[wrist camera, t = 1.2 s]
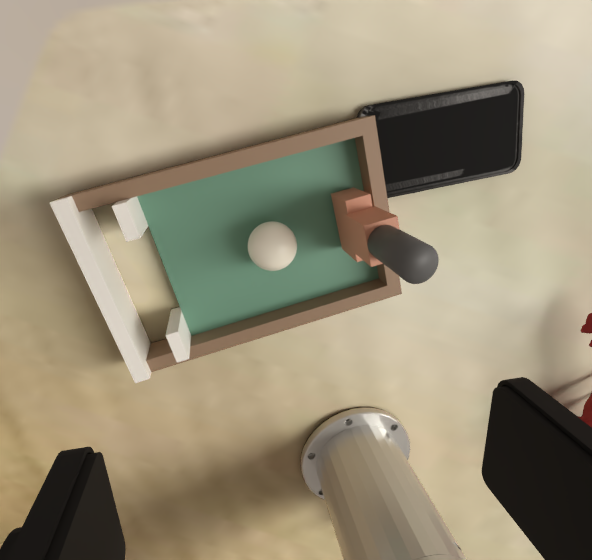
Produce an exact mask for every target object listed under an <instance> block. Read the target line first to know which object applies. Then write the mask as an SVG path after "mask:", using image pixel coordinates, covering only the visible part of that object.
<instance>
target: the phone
mask: <svg viewBox="0 0 592 560" xmlns="http://www.w3.org/2000/svg"><path fill="white" fill-rule="evenodd" d="M523 107H524V88H523V86H522V84H521V83H520V82H518V81H507V82H502V83H496V84H490V85H484V86H478V87H473V88H467V89H461V90H455V91H449V92H443V93H438V94H432V95H426V96H420V97H414V98H409V99H403V100H397V101H391V102H385V103H379V104H374V105H368V106H365V107H364V108H362V109H361V110H360V112H359V113H358V116H357V118H361V117H364V116H374V115H375V120H376V126H377V133H378V140H379V146H380V153H381V159H382V166H383V173H384V179H385V186H386V193H387V198H390V197H395V196H400V195H405V194H410V193H416V192H420V191H424V190H429V189H434V188H439V187H444V186H449V185H454V184H459V183H463V182H468V181H473V180H478V179H483V178H488V177H493V176H498V175H503V174H508V173H511V172H513V171H514V170H516V169H517V167H518V166H519V164H520V161H521V149H522V128H523Z"/></svg>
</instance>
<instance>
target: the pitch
mask: <svg viewBox="0 0 592 560" xmlns="http://www.w3.org/2000/svg"><path fill="white" fill-rule="evenodd" d="M349 188H356V189H359V190H361V191H364V192H366V193H369V194H371V200H372V206H373V207H374V206H376V207H378V208H380V209H382V210H385V211H387V212H389V206H388V199H387V193H386V186H385V179H384V173H383V166H382V159H381V153H380V146H379V140H378V133H377V126H376V120H375V115H374V116H364V117H361V118H355V119H351V120H347V121H344V122H340V123H336V124H332V125H328V126H325V127H321V128H317V129H313V130H310V131H306V132H302V133H298V134H294V135H291V136H287V137H283V138H279V139H276V140H272V141H268V142H264V143H260V144H257V145H253V146H249V147H245V148H241V149H238V150H234V151H230V152H226V153H223V154H219V155H215V156H211V157H207V158H204V159H200V160H196V161H192V162H189V163H185V164H181V165H177V166H173V167H170V168H166V169H162V170H158V171H155V172H151V173H147V174H143V175H139V176H136V177H132V178H128V179H124V180H120V181H117V182H113V183H109V184H105V185H102V186H98V187H94V188H90V189H86V190H83V191H79V192H75V193H71V194H68V195H66V196H63V197H61V198H59V199H56V200H54V201H52V202H50V205H51V207H52V209H53V211H54V213H55V216H56V218H57V220H58V222H59V224H60V226H61V228H62V230H63V232H64V234H65V237H66V239H67V241H68V243H69V245H70V247H71V249H72V251H73V253H74V255H75V258H76V260H77V262H78V264H79V266H80V268H81V270H82V272H83V274H84V276H85V279H86V281H87V283H88V285H89V287H90V289H91V291H92V293H93V295H94V297H95V300H96V302H97V304H98V306H99V308H100V310H101V312H102V314H103V316H104V318H105V321H106V323H107V325H108V327H109V329H110V331H111V333H112V335H113V337H114V340H115V342H116V344H117V346H118V348H119V350H120V352H121V354H122V356H123V358H124V361H125V363H126V365H127V367H128V369H129V371H130V373H131V375H132V377H133V379H134V382H135V383H138V382H141V381H144V380H147V379H150V375H151V372H153V371H156V370H160V369H163V368H166V367H169V366H172V365H176V364H179V363H182V362H185V361H188V360H192V359H195V358H198V357H201V356H204V355H208V354H211V353H214V352H217V351H220V350H224V349H227V348H230V347H233V346H236V345H239V344H243V343H246V342H249V341H252V340H255V339H259V338H262V337H265V336H268V335H271V334H275V333H278V332H281V331H284V330H287V329H291V328H294V327H297V326H300V325H303V324H307V323H310V322H313V321H316V320H319V319H323V318H326V317H329V316H332V315H335V314H339V313H342V312H345V311H348V310H351V309H354V308H358V307H361V306H364V305H367V304H370V303H374V302H377V301H380V300H383V299H386V298H390V297H393V296H396V295H399V294H402V292H401V286H400V279H399V275H397V274H396V273H395V272H393V271H392V270H391V269H389V268H388V267H387V266H386V265H384V264H379V265H376V266H373V267H371V266H369V265H368V264H367V263H366V262H365V261H360V262H356V261H355V260H354V259H353V258H352V257H351V256H349V255H348V254H347V253H346V252H345V251H344V250H343V249H342V246H341V242H340V237H339V232H338V227H337V222H336V217H335V212H334V207H333V202H332V197H331V193H335V192H338V191H342V190H346V189H349ZM114 202H117V203H115V204H114V205H113V206H112V209H113V211H114V213H115V216H116V218H117V220H118V223H119V225H120V228H121V230H122V232H123V235H124V237H125V240H126V242H128V241H131V240H135V239H138V238H141V236H142V235H143V233H144V232H145V230H146V229H147V227H148V226H149V229H150V231H151V234H152V236H153V239H154V242H155V244H156V247H157V249H158V252H159V254H160V257H161V259H162V262H163V265H164V267H165V270H166V272H167V275H168V277H169V280H170V283H171V285H172V288H173V290H174V293H175V295H176V298H177V301H178V303H179V306H180V307H178V308H174V309H171V313H170V317H169V322H168V326H167V331H166V338H167V339H164V340H160V341H157V342H154V343H150V340H149V338H148V336H147V333H146V331H145V329H144V327H143V324H142V322H141V320H140V317H139V315H138V313H137V311H136V308H135V306H134V304H133V301H132V299H131V297H130V295H129V292H128V290H127V288H126V285H125V283H124V281H123V279H122V276H121V274H120V272H119V269H118V267H117V265H116V263H115V260H114V258H113V256H112V253H111V251H110V249H109V247H108V244H107V242H106V240H105V237H104V235H103V233H102V231H101V228H100V226H99V224H98V221H97V219H96V217H95V215H94V212H93V210H92V208H96V207H100V206H103V205H107V204H111V203H114ZM270 221H274V222H279V223H282V224H284V225H286V226H287V227H288V228H290V229H291V231H292V232H293V234H294V235H295V238H296V241H297V251H296V255H295V257H294V259H293V260H292V262H291V263H290V264H289V265H288V266H286V267H285V268H283V269H281V270H277V271H268V270H264V269H262V268H260V267H258V266H257V265H256V264H255V263H254V262H253V261H252V259H251V258H250V256H249V253H248V239H249V237H250V234H251V233H252V231H253V230H254V229H255V228H256V227H257V226H259V225H260V224H262V223H265V222H270Z"/></svg>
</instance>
